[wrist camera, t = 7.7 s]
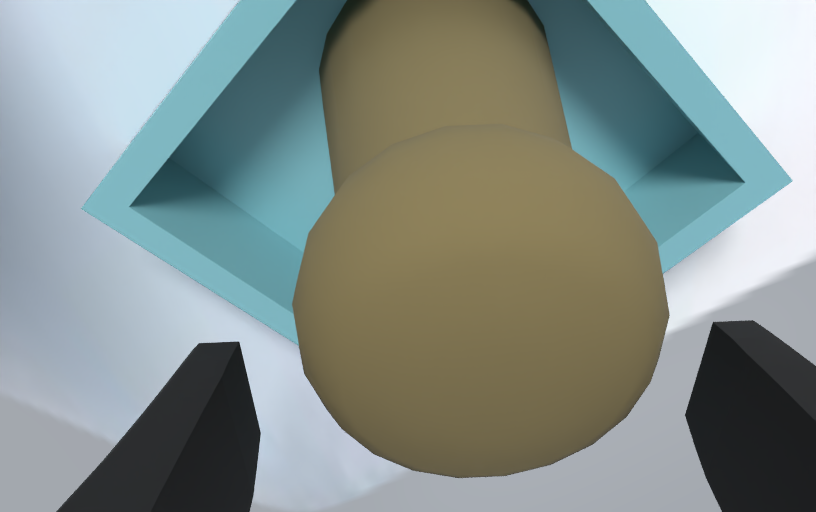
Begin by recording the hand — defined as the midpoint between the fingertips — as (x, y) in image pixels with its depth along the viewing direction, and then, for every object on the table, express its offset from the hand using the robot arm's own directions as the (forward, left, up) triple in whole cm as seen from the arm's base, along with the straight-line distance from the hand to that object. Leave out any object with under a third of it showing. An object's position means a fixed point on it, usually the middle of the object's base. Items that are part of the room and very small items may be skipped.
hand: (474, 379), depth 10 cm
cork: (+1, -1, -10) cm, 10 cm away
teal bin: (0, 0, -10) cm, 10 cm away
